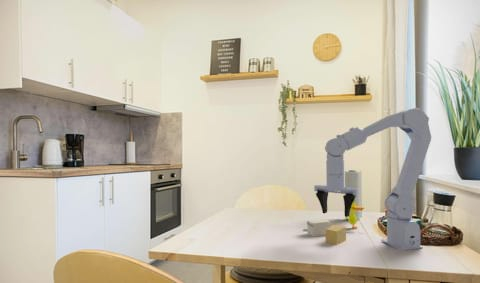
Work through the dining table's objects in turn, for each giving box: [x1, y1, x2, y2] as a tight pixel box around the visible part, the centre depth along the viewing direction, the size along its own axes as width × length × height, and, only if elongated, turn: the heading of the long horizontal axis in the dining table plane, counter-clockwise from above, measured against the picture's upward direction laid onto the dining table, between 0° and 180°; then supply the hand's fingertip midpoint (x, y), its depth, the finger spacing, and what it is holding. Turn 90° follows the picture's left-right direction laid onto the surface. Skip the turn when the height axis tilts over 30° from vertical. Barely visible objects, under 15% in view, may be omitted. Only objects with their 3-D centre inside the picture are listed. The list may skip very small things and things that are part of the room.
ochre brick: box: [325, 224, 347, 246], centre depth 103 cm, size 4×7×5 cm, turn 138°
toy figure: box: [346, 200, 365, 230], centre depth 121 cm, size 7×4×12 cm, turn 61°
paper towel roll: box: [344, 170, 363, 221], centre depth 136 cm, size 7×6×21 cm
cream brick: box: [306, 218, 331, 237], centre depth 112 cm, size 4×7×5 cm, turn 107°
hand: (335, 214), depth 103 cm, fingers open, 7 cm apart
